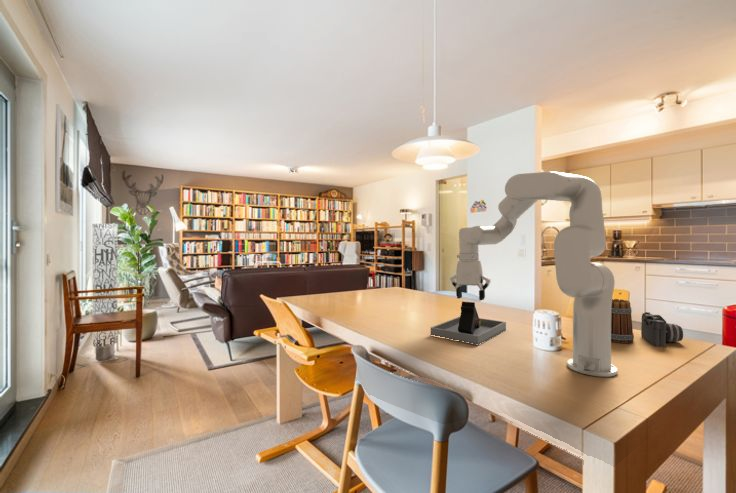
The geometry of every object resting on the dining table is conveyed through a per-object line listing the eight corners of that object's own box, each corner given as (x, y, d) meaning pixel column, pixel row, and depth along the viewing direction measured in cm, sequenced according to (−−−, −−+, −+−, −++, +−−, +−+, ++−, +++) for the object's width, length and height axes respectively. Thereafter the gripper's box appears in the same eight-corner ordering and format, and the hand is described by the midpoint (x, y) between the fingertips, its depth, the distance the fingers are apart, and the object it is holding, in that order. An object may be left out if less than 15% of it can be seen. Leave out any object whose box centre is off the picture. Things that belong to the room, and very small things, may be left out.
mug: (622, 336, 135) (622, 298, 135) (640, 344, 125) (640, 303, 124) (580, 335, 137) (580, 298, 137) (595, 343, 126) (595, 302, 126)
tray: (478, 345, 125) (478, 336, 125) (430, 336, 138) (430, 327, 138) (506, 330, 146) (505, 322, 146) (462, 323, 159) (462, 315, 159)
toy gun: (477, 347, 144) (480, 320, 151) (471, 330, 131) (474, 301, 137) (465, 346, 146) (468, 319, 153) (457, 329, 133) (461, 300, 140)
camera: (691, 349, 118) (691, 321, 118) (652, 346, 122) (652, 318, 122) (671, 338, 132) (672, 312, 131) (637, 335, 135) (637, 310, 135)
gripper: (445, 257, 144) (447, 298, 144) (485, 257, 133) (487, 301, 133) (454, 257, 150) (455, 296, 150) (493, 257, 138) (494, 299, 138)
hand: (470, 298), depth 141 cm, fingers open, 9 cm apart
